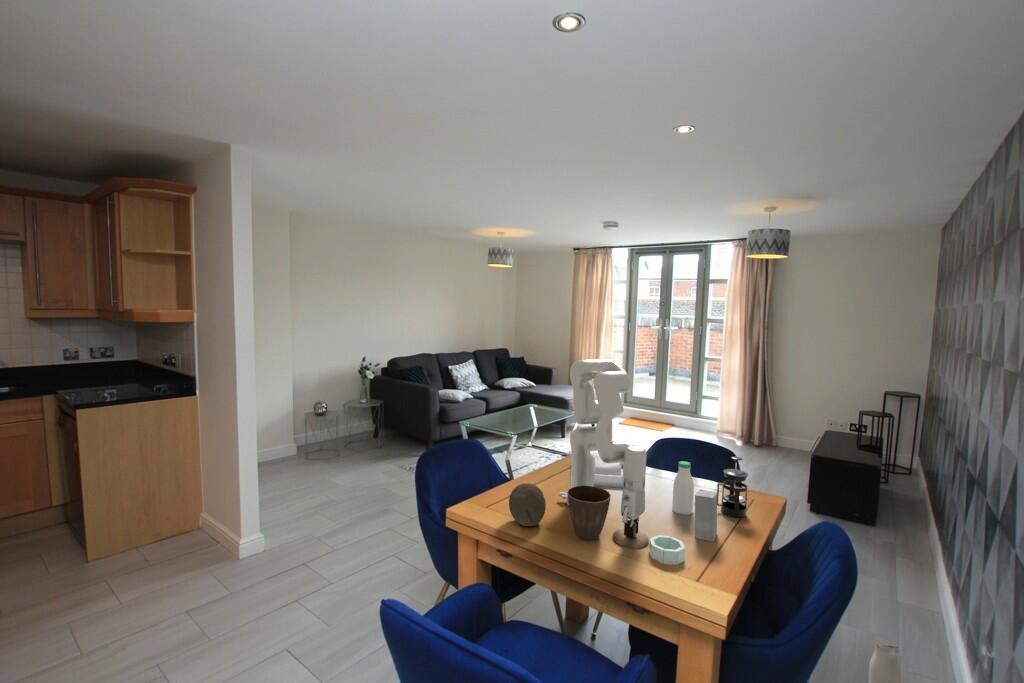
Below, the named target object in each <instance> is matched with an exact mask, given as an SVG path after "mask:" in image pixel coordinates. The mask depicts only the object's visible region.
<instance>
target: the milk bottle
mask: <svg viewBox="0 0 1024 683" xmlns="http://www.w3.org/2000/svg"><path fill="white" fill-rule="evenodd" d="M691 465H692V464H691V462H690V461H689V462H688V461H683V460H682V461H678V471H677V473H676V475H675V476H674V480H673V488H672V489H673V490H672V504H671V505H672V511H673V512H674V513H675V514H679V515H684V516H685V515H691V514H692V513H693V511H694V510H693V509H694V494H695V493H694V492H695V491H694V490H695V489H694V488H695V484H694V479H693V477H692V475H691V469H692V468H691Z"/></svg>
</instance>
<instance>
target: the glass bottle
mask: <svg viewBox="0 0 1024 683" xmlns="http://www.w3.org/2000/svg"><path fill="white" fill-rule="evenodd" d="M874 647H875V648H874V651H873V653H872V656H871V658H870V661H869V665H868V666H869V667H868V683H901V679H902V678H901V677H902V675H901V673H902V672H901V669H900V664H899V660H898V654H899V650H898V647H899V646H896V645H895V646H893V645H884V644H874Z"/></svg>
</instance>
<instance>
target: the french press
mask: <svg viewBox="0 0 1024 683" xmlns="http://www.w3.org/2000/svg"><path fill="white" fill-rule="evenodd" d="M730 459H732V460H734V463H735V468H727V469H724V470H723V474H724V475H723V476H724V478H725V479H727V480H724V481H723V482H717V485H716V486H717V487H716V492H717V507H721V509H720V513H721V514H723V516H726V517H729V518H733V519H745V518H746V517H747V503H748V485H747V484H746V483H743V482H745V481H746V479H747V477H749V473H748V472H746V471H744V470H740V469H737V466H738V465H737V463H739V462H738V461H742V460H743V458H742V457H739V456H731V457H730ZM720 486H722V491H721V503H719V497H720V496H719V493H720ZM737 486H740V487H742V488H737ZM725 490H727V491H729V494H724V493H725ZM744 492H745V495H744V497H743V496H741V494H740V493H744Z"/></svg>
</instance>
